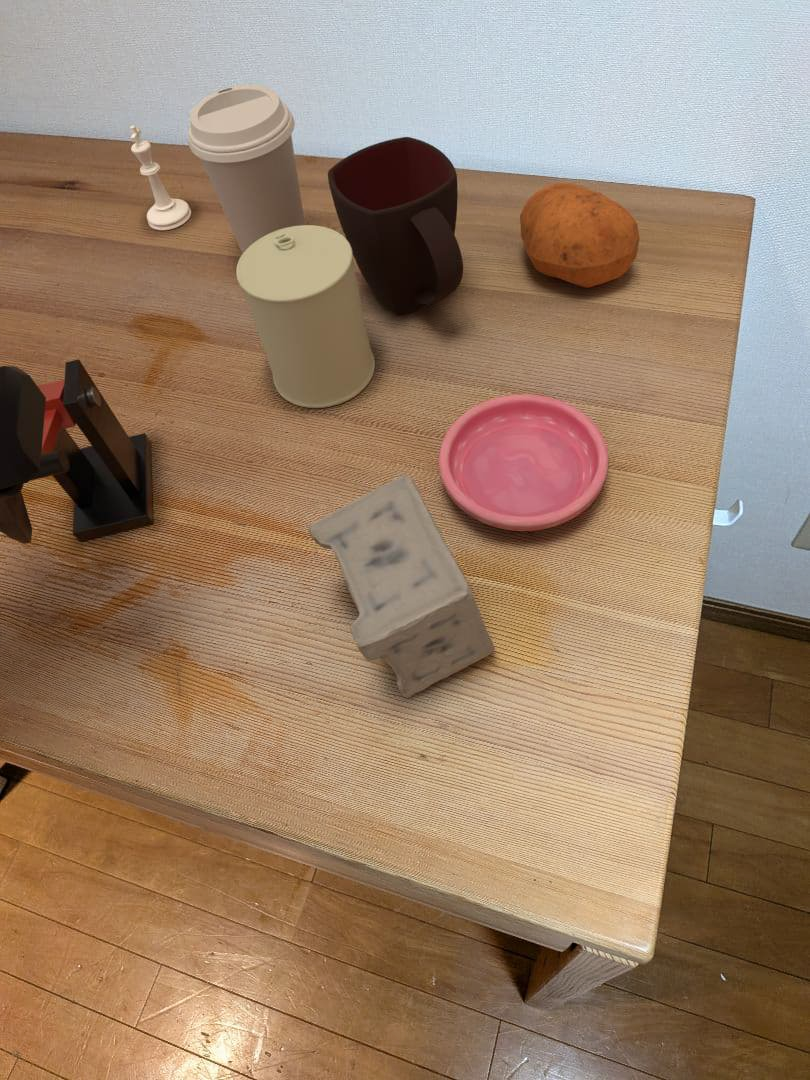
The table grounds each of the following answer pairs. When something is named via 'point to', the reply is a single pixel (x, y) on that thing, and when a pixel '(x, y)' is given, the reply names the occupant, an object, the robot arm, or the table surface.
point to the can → (308, 314)
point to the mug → (400, 221)
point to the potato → (578, 234)
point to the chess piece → (158, 190)
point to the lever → (53, 430)
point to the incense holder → (404, 586)
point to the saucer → (523, 462)
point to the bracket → (102, 464)
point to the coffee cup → (249, 159)
